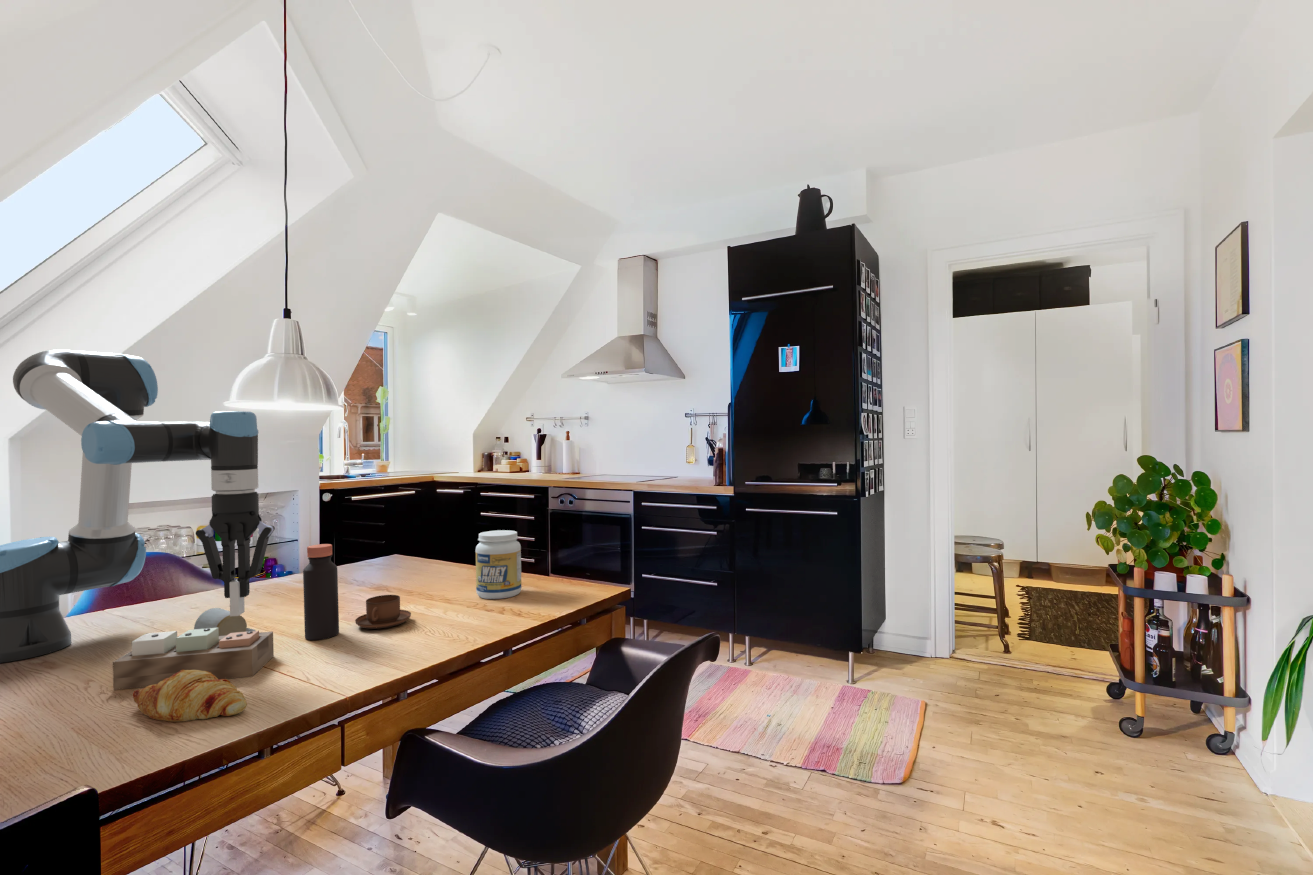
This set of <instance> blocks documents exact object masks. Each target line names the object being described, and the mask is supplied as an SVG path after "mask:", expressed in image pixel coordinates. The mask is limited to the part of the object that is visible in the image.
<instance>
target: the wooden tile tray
mask: <svg viewBox="0 0 1313 875" xmlns="http://www.w3.org/2000/svg"><path fill="white" fill-rule="evenodd" d="M226 636H227V635H226ZM224 637H225V636H219V641H220V640H221V639H223V638H224ZM274 650H275V649H274V631H264V632H263V631H261V632H259V639H258V640H257V641H255V642H254V643H253V644H252V645H249V646H238V647H227V648H219V642H218V643H216V644H215V645H214V646H212V647H211V648H209V649H205V650H194V651H183V652H176V646H175V647H174V648H172V649H171V650H169V651H168V652H166V653H160V654H149V655H138V656H132V650H130V651H129V652H128V653H126V654H123V655H122V656H121V657H119V658H117V659H115V660H113V661H112V683H113V684H112V685H113V686H112V687H113V688H112V689H113V691H119V690H128V689H129V690H130V689H136V688H137V689H138V688H139V689H141V688H145V687H147V686H149V685H154V684H158V683H159V682H160V681H163V679H165V678H170V677H171V676H172V675H173V674H175V673H177V672H179V671H180V670H183V669H184V670H200V671H208V672H211V673H212V674H213V675H214V676H216V677H217V678H218V679H227V680H229V679H230V680H231V679H240V678H248V677H254V676H255V675H256V673H258V672H259V671H260V670H261V669H262V668H263V667H264V666H265V665H266V664H267V663H268V662H269V661H270V660H271V659H273V658H274V656H275V654H274V652H275V651H274Z"/></svg>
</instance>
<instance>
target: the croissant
mask: <svg viewBox="0 0 1313 875" xmlns="http://www.w3.org/2000/svg"><path fill="white" fill-rule="evenodd" d="M132 698H133V702H134V703H136V704H137V709H138V710H139V711H140V712H141V713H142V714H143V715H145V716H148V717H149V718H150V719H152V720H156V721H166V722H170V723H172V722H173V723H176V722H177V723H178V722H188V721H195V720H198V719H199V720H207V719H211V718H215V717H216V718H218V717H219V716H223V717H229V716H235V715H237V714H240V713H241V712H243V711H245V709H246V708H247V707H248V703H247V699H246V697H245V695H244V693H243V692H242V691H240V690H238V688H237V687H236V686H235V685H234V684H233V683H231V681H230V680H229V679H218V678H217V677H216V676H214V675H213V674H212V673H211V672H208V671H200V670H184V669H183V670H180V671H179V672H177V673H175V674H173V675H172V676H171V677H170V678H165V679H163V681H160V682H159V683H158V684H154V685H149V686H147V687H143V688H139V689H136V690H134V691H133V693H132Z"/></svg>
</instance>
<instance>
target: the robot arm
mask: <svg viewBox="0 0 1313 875" xmlns="http://www.w3.org/2000/svg"><path fill="white" fill-rule="evenodd" d="M14 370H15V371H14V373H13V374H12V375H13V376H12V384H13V388H14V390H15V392H16V393H17V395H18V396H19V397H20V398H21V399H22V400H23V401H25V402H26V403H27V404H29V405H30V406H32V407H34V408H37V409H39V410H45V411H47V412H49V413H50V414H52V415H53V416H54V417H55V418H57V419H58V420H59V421H61V422H62V423H64V424H65V425H66V426H68V427H69V428H70V429H72V430H73V431H74V432H76V433H77V435H80V436H81V440H80V442H81V449H82V450H81V451H82V460H81V471H80V472H81V473H80V490H79V505H78V506H79V508H78V520H77V521H78V522H77V524H75V525H73V527H71V528H70V529H68V538H67V539H68V540H65V541H59V539H58V538H57V537H55V536H41V537H36V538H35V537H34V538H26V539H21V540H17V541H11V542H8V543H4V544H0V664H1V663H9V662H16V661H21V660H26V659H30V658H35V657H40V656H43V655H47V654H50V653H53V652H57V651H59V650H62V649H64V648H66V647H68V646H70V645H71V644H72V633H71V630H70V628H69V626H68V624H67V622H66V620H65V618H64V615H63V613H62V612H61V610H60V596H62V595H68V594H74V593H79V592H85V591H89V590H95V589H102V588H110V587H115V586H117V585H121V584H124V583H128V582H131V581H133V580H134V579H136V577H138V576H139V574H140V573H141V572H142V570H143V568H144V565H145V562H146V556H147V547H146V545H145V544H146V542H145V539H144V538H143V536H142V535H141V534H139V533H137V532H136V527H135V526H133V525H132V524H131V523H129V508H130V507H129V506H130V493H131V480H132V464H139V463H140V464H142V463H143V464H144V463H158V462H160V463H161V462H163V463H164V462H181V461H182V462H183V461H184V462H185V461H186V462H187V461H210V472H211V473H210V474H211V475H210V476H211V477H210V478H211V482H210V483H211V484H210V485H211V490H212V491H213V492H215V493H213V494H212V495H211V514H212V515H211V518H210V520H209V522H208V525H206V526H205V527H202V528H200V529H197V530H196V531H195V535H196V537H197V538H198V539H199V541H200V542H201V544H202V548H203V550H204V554H205V556H206V561H207V564H208V568H209V571H210V574H211V578H212V579H214V580H220V581H222V582H223V592H224V593H223V594H224V598H225V599H229V611H230V616H239V615H241V616H242V614H244V613H245V598H246V597H248V596H249V595H250V592H251V591H250V590H251V588H250V585H251V584H250V579H251V578H254V577H256V576H258V575H259V574H261V570H262V567H263V563H264V559H265V555H266V552H267V547H268V543H269V539H270V537H271V536H272V534H273V533H274V531H275V526H274V525H268V524H266V523H264V522H263V520H262V517H261V515H260V513H259V512H260V511H259V509H260V507H259V506H260V505H259V504H260V502H259V501H260V500H259V494H260V493H258V492H257V491H256V490H257V489H259V468H258V467H259V429H258V422H257V415H256V414H255V413H254V412H252V411H244V410H243V411H239V410H238V411H237V410H234V411H233V410H232V411H231V410H221V411H219V410H218V411H213V412H212V413H211V415H210V417H209V418H210V419H209V421H201V420H200V421H140V418H142V417H143V416H144V412H145V411H144V410H145V408H148V407H150V406H153V405H154V404H155V403H156V399H157V398H158V394H159V386H158V379H157V376H156V374H155V371H154V369H153V368H152V366H151V364H150V363H149V362H148V361H147V360H146V359H144V358H143V357H141V356H136V355H130V354H123V353H117V352H116V353H115V352H114V353H113V352H100V351H98V352H97V351H86V350H71V349H50V350H49V349H47V350H43V351H39V352H37V353H35V354H31V355H30V356H28V357H27V358H25V359H23V360H22V361H21V362H20V363H19V364H18V366H17V367H16V369H14ZM256 530H257V534H258V537H257V541H256V544H255V547H254V548H255V549H254V553H253V556H252V560H251V550H250V549H251V542H252V540H251V537H252V536H253V534H254V533H255V531H256ZM215 534H216V535H217V536H218V537H219V538H220V546H221V547H222V558H221V555H220V553H219V552H220V551H219V549H218V548H219V547H218V546H217V543H216V539H215V537H214V535H215ZM236 546H237V572H238V573H237V574H236ZM237 576H238V577H237Z"/></svg>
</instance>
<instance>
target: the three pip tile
mask: <svg viewBox="0 0 1313 875" xmlns="http://www.w3.org/2000/svg"><path fill="white" fill-rule="evenodd" d="M259 633H260V631H259V630H256V631H248V632H236V633H230V634H228V635H227V636H225V637H224V638H223V639H221V640H220V641H219V648H227V647H238V646H249V645H252V644H253V643H254V642H255V641H257V640H258V639H259Z"/></svg>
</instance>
